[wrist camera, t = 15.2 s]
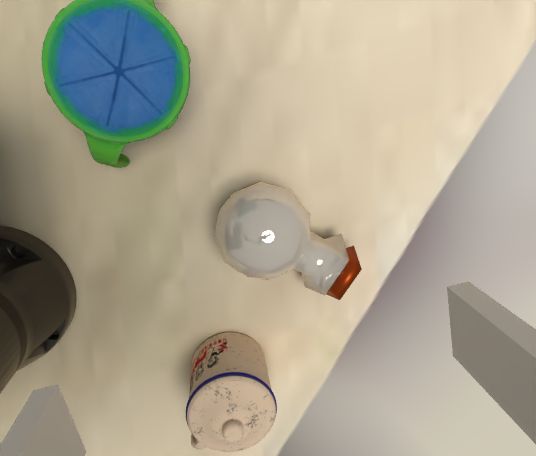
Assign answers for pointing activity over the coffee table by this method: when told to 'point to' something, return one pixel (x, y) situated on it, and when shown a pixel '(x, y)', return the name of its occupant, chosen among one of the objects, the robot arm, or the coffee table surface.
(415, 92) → the coffee table surface
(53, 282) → the robot arm
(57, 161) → the coffee table surface
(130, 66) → the snack cup
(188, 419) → the teacup with lid
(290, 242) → the potion bottle
